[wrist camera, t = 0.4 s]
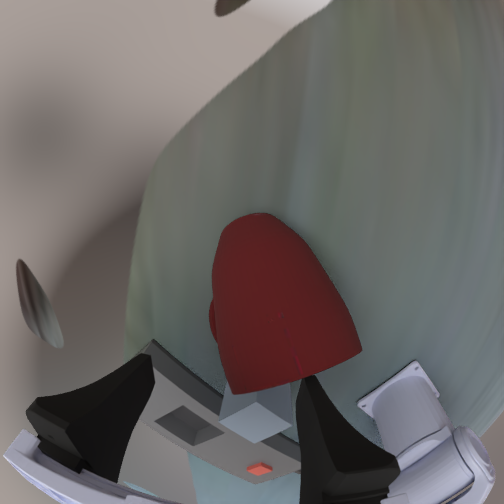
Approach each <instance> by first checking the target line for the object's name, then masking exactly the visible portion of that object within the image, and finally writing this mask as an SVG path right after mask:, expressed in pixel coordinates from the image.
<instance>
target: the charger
mask: <svg viewBox="0 0 504 504" xmlns="http://www.w3.org/2000/svg"><path fill="white" fill-rule="evenodd" d="M218 422H219V423H221V424H222V425H224V426H225V427H227V428H229V429H230V430H232V431H233V432H235V433H237V434H239V435H240V436H242V437H244V438H245V439H247V440H249V441H251V442H252V443H254V444H255V443H257V442H259V441H262V440H264V439H266V438H268V437H271V436H273V435H275V434H277V433H279V432H281V431H283V430H285V429H287V428H289V427H291V426H293V420H292V402H291V386H290V383H287V384H284V385H280V386H277V387H273V388H269V389H265V390H261V391H257V392H252V393H246V394H239V395H233V394H232V392H231V390H230V387H229V384H228V381H227V383H226V388H225V392H224V397H223V401H222V406H221V410H220V415H219V420H218Z"/></svg>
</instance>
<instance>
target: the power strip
mask: <svg viewBox="0 0 504 504" xmlns="http://www.w3.org/2000/svg"><path fill="white" fill-rule="evenodd" d="M140 353H144V354H148V355H151V358H152V365H153V371H154V377H155V385H154V388H153V391H152V394H151V396H150V399H149V401H148V402H147V404H146V406H145V408H144V410H143V412H142V414H141V416H140V417H139V420H141V421H142V422H143V423H144V424H146V425H147V426H149V427H150V428H152V429H153V430H155V431H156V432H158V433H159V434H161V435H162V436H164V437H165V438H167V439H168V440H170V441H171V442H173V443H175V444H176V445H178V446H180V447H181V448H183V449H185V450H186V451H188V452H190V453H191V454H193V455H195V456H197V457H199V458H200V459H202V460H204V461H206V462H208V463H210V464H212V465H214V466H216V467H218V468H220V469H222V470H224V471H226V472H228V473H230V474H232V475H235V476H237V477H239V478H241V479H244V480H246V481H248V482H251V483H253V484H258V483H262V482H265V481H268V480H272V479H275V478H278V477H281V476H284V475H286V474H289V473H292V472H295V473H298V474H301V452H300V444H298V443H297V442H295V441H293V440H291V439H289V438H288V437H286V436H284V435H283V434H281V433H277V434H275V435H273V436H271V437H268V438H266V439H264V440H262V441H259V442H257V443H255V444H254V443H252V442H251V441H249V440H247V439H245V438H244V437H242V436H240V435H239V434H237V433H235V432H233V431H232V430H230V429H229V428H227V427H225V426H224V425H222V424H221V423H219V422H218V420H219V415H220V410H221V406H222V401H223V397H224V396H223V395H221V394H220V393H219V392H217V391H216V390H215V389H213V388H212V387H211V386H209V385H208V384H207V383H205V382H204V381H203V380H201V379H200V378H199V377H198V376H196V375H195V374H194V373H193V372H191V371H190V370H189V369H188V368H186V367H185V366H184V365H183V364H182V363H180V362H179V361H178V360H177V359H176V358H174V357H173V356H172V355H171V354H170V353H169V352H167V351H166V350H165V349H164V348H163V347H162V346H161V345H159V344H158V343H157V342H156V341H155V340H154V339H153V340H152V341H151V342H149V343H148V344H147V345H146V346H145V347H144V348H143V349H142V350H141V351H140V352H139V353H138V354H140ZM138 354H136V355H135V356H134V357H136V356H137V355H138ZM134 357H133V358H134ZM133 358H132V359H133Z"/></svg>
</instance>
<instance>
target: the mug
mask: <svg viewBox="0 0 504 504" xmlns="http://www.w3.org/2000/svg"><path fill="white" fill-rule="evenodd" d="M212 288H213V300H212V302H211V305H210V309H209V322H210V327H211V331H212V334H213V336H214V338H215V340H216V342H217V343H218V348H219V354H220V358H221V362H222V365H223V369H224V372H225V375H226V378H227V381H228V384H229V387H230V390H231V392H232V394H233V395H239V394H246V393H252V392H257V391H261V390H265V389H269V388H273V387H277V386H280V385H284V384H287V383H290V382H293V381H296V380H299V379H302V378H305V377H308V376H311V375H313V374H316V373H319V372H321V371H323V370H326V369H328V368H331V367H333V366H335V365H337V364H340V363H342V362H344V361H346V360H348V359H350V358H352V357H354V356H355V355H357V354H359V353H360V352H361V351H362V346H361V343H360V340H359V337H358V334H357V331H356V328H355V326H354V323H353V320H352V317H351V315H350V313H349V311H348V309H347V307H346V305H345V303H344V301H343V299H342V298H341V296H340V294H339V293H338V291H337V289H336V288H335V286H334V285H333V283H332V281H331V280H330V278H329V277H328V275H327V273H326V272H325V270H324V269H323V267H322V266H321V264H320V262H319V261H318V259H317V258H316V256H315V255H314V253H313V252H312V250H311V249H310V247H309V246H308V245H307V243H306V242H305V241H304V240H303V239H302V238H301V237H300V236H299V235H298V234H297V233H295V232H294V231H293V230H292V229H291V228H289V227H288V226H287V225H285V224H284V223H283V222H281V221H280V220H279V219H277V218H276V217H275V216H273V215H270V214H267V213H254V214H249V215H246V216H243V217H240V218H238V219H236V220H234V221H233V222H231V223H230V224H229V225H227V226H226V227H225V228H224V230H223V231H222V233H221V236H220V240H219V243H218V247H217V251H216V254H215V258H214V263H213V269H212Z"/></svg>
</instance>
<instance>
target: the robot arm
mask: <svg viewBox="0 0 504 504" xmlns="http://www.w3.org/2000/svg"><path fill="white" fill-rule="evenodd" d="M154 385H155V377H154V371H153V365H152V358H151V355H148V354H144V353H140V354H138V355H137V356H136V357H134V358H133V359H131V360H130V361H128V362H127V363H126V364H124V365H123V366H121V367H120V368H118V369H117V370H115V371H114V372H112V373H110V374H108V375H107V376H105V377H103V378H102V379H100V380H98V381H96V382H94V383H92V384H90V385H87V386H85V387H82V388H79V389H76V390H74V391H71V392H67V393H63V394H58V395H53V396H45V397H37V398H36V399H35V401H34V402H33V403H32V404H31V405H30V406H29V408H28V409H27V410H26V415H27V418H28V420H29V421H30V423H31V424H32V426H33V427H34V429H35V430H36V432H37V433H38V436H37V437H36V436H34V435H33V434H31V433H30V432H28V431H27V430H26V429H23V430H22V431H21V432H20V433H19V435H18V436H17V437H16V439H15V440H14V441H13V443H12V444H11V445H10V447H9V448H8V449H7V450H6V452H5V453H4V457H5V458H6V460H8V462H9V463H10V464H11V465H12V466H13V467H14V468H15V469H16V470H17V471H18V472H19V473H20V474H21V475H22V476H23V477H24V478H25V479H27V480H28V481H29V482H31V483H32V484H33V485H35V486H36V487H37V488H39V489H40V490H42V491H43V492H45V493H46V494H47V495H49V496H51V497H52V498H54V499H55V500H57V501H58V502H60V503H61V504H181V503H177V502H173V501H169V500H165V499H162V498H158V497H155V496H151V495H148V494H145V493H142V492H139V491H136V490H133V489H130V488H127V487H125V486H122V485H119V484H117V482H118V477H119V473H120V469H121V465H122V461H123V457H124V454H125V451H126V448H127V445H128V442H129V439H130V437H131V434H132V431H133V429H134V427H135V425H136V423H137V421H138V419H139V417H140V416H141V414H142V412H143V410H144V408H145V406H146V404H147V402H148V401H149V399H150V396H151V394H152V391H153V388H154ZM439 396H440V394H439V392H438V391H437V389H436V388H435V386H434V385H433V383H432V382H431V380H430V379H429V377H428V376H427V374H426V373H425V372H424V370H423V369H422V367H421V366H420V364H419V363H418V362H417V361H413V362H412V363H410V364H409V365H408V366H407V367H405V368H404V369H403V370H402V371H400V372H399V373H398V374H396V375H395V376H394V377H392V378H391V379H390V380H388V381H387V382H385V383H384V384H383V385H381V386H380V387H378V388H377V389H375V390H374V391H373V392H371V393H370V394H368V395H367V396H365V397H364V398H362V399H360V400H359V401H358V402H357V405H358V407H359V408H361V409H362V410H363V411H364V412H366V413H367V414H368V415H369V416H371V417H372V418H373V419H374V420H375V422H376V424H377V427H378V430H379V433H380V436H381V439H382V443H383V446H384V449H385V450H383V449H381V448H380V447H378V446H377V445H375V444H373V443H372V442H370V441H369V440H368V439H366V438H365V437H364V436H363V435H361V434H360V433H359V432H358V431H357V430H356V429H355V428H353V427H352V426H351V425H350V424H349V423H348V422H347V420H346V419H345V418H344V417H343V416H342V415H341V413H340V412H339V411H338V410H337V408H336V407H335V406H334V404H333V403H332V402H331V400H330V399H329V397H328V396H327V394H326V393H325V391H324V390H323V388H322V386H321V385H320V383H319V381H318V379H317V377H316V376H315V375H311V376H308V377H305V378H302V381H301V385H300V388H299V392H298V396H297V399H296V421H297V429H298V436H299V444H300V452H301V486H300V502H299V504H441V503H442V502H444V501H446V500H447V499H449V498H450V497H452V496H453V495H455V494H457V493H458V492H460V491H461V490H463V489H464V488H465V487H467V486H468V485H470V484H471V483H472V482H474V484H473V486H471V487H470V488H469V489H467V490H466V491H464V492H463V493H462V494H460V495H458V496H457V497H455V498H454V499H452V500H451V501H449V502H448V503H446V504H483V502H484V501H485V499H486V497H487V496H488V494H489V492H490V490H491V489H492V486H493V484H494V481H495V469H494V467H493V466H492V464H491V462H490V458H489V455H488V453H487V451H486V449H485V447H484V445H483V444H482V442H481V440H480V439H479V438H478V436H477V435H476V434H475V433H474V432H473V431H472V430H471V429H470V428H469V427H462V426H459V427H457V428H456V429H455V428H454V427H453V425H452V423H451V421H450V419H449V418H448V416H447V414H446V412H445V411H444V409H443V407H442V406H441V404H440V402H439V401H438V399H437V398H438V397H439Z"/></svg>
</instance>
